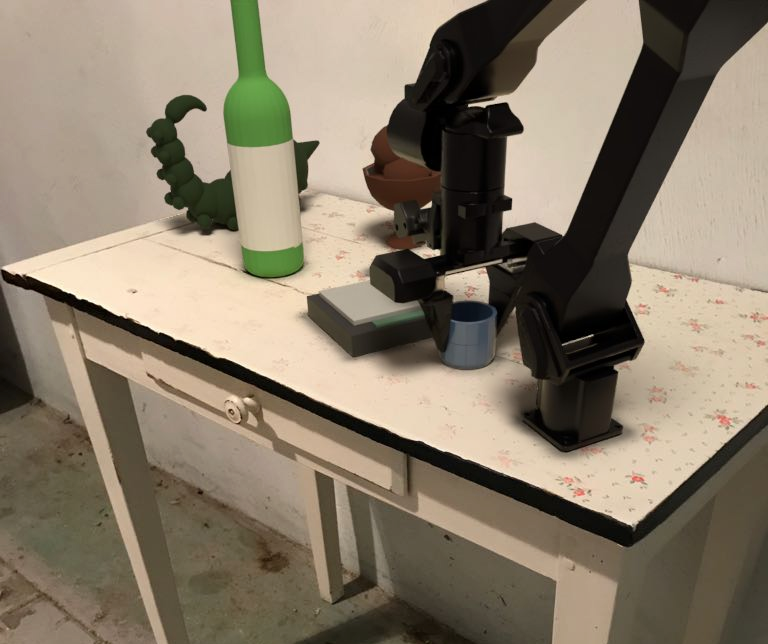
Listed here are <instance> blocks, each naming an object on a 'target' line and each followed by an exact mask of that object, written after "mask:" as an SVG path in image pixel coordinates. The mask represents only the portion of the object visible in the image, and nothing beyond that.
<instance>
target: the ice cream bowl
mask: <svg viewBox="0 0 768 644" xmlns="http://www.w3.org/2000/svg"><path fill="white" fill-rule="evenodd" d="M386 132H387V125H384V126H383V127H382V128H381V129H380V130H379V131H377V132H376V134H375V135H374V136H373V139H372V141H371V145H370V149H369V150H370V152H371V154H372V156H373V162H372V163H370V164H368V165H366V166H363V167H362V174H363V177H364V181H365V184H366V187H367V190H368V191H369V194H370V196H371V197H372V198H373V199H374V200H375V201H376V202H377V203H378V205H380V206H382V207H383V208H385V209H387V210H389V211H392V212H394V204H397V203H401V202H407V201H412V200H416V201H417V202H418V204H419V207H420V209H423V208H424V207H426V206H427V205H428V204H430V203H432V196H433V191H438V190H441V172H437V171H433V170H430V169H428V168H425V167H423V166H420V165H418V164H415V163H413V162H410V161H408V160H405V159H403V158H400V157H398V156H397V155H396V154H395V153H394V152H393V151H392V149H391V148H390V146H389V143H388V140H387V133H386ZM385 244H386V246H388V247H391V248H393V249H398V250H400V249H401V250H404V249H409V250H411V249H414V248H415V249H416V248H420V247H422V246H423V245H424V244H427V241H424V243H420V244H416V245H414V244H413V238H412V236H408V237H402V238H399V237H398V236H397V235H396V232H395V231H393V232H392V233H391V234H389V235H388V236H386V238H385Z"/></svg>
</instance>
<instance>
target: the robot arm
mask: <svg viewBox="0 0 768 644" xmlns="http://www.w3.org/2000/svg"><path fill="white" fill-rule="evenodd" d="M586 1H588V0H485V1H483V2H481V3H478V4H476V5H474V6H471V7H469V8H466V9H464V10H462V11H459V12H457V13H456V14H455V15H454V16H452V17H451V18H449V19H448V20H446V21H445V22H444V23H442V24H441V25H439V26H438V27H437V28H436V30H435V32H433V35H432V37H431V40H430V42H429V48H428V50H427V52H426V56H425V58H424V60H423V63H422V65H421V68H420V71H419V73H418V76H417V78H416V81H415V82H414V83H407V84H406V83H405V84H404V86H403V88H404V89H403V90H404V92H403V93H404V94H403V95H404V96H403V99H401V101H399V102H398V103H397V104H396V105H395V107H394V108H393V110H392V111H391V114H390V116H389V120H388V123H387V125H386V126H387V132H386V133H387V140H388V143H389V146H390V148H391V149H392V151H393V152H394V153H395V154H396V155H397V156H398V157H400V158H403V159H405V160H408V161H410V162H413V163H415V164H418V165H420V166H423V167H425V168H428V169H430V170H433V171H437V172H441V190H438V191H433V196H432V201H431V206H430V207H425V208H421V209H420V207H419V204H418V202H417V201H416V200H412V201H407V202H401V203H397V204H394V211H393V225H394V232H396V235H397V236H398V237H399V238H402V237H408V236H412V238H413V244H414V245H416V244H420V243H424V241H425V242H426V247H427V248H428V249H430V250H431V251H436V250H438V251H439V255H435V256H430V257H426V258H424V257H422V256H421V255H420V254H418V253H416V252H414V251H412V250H411V249H401V250H400V249H399V250H396V251H395V250H394V251H391V252H385V253H381V254H376V255H375V256H374V258H373V260H372V261H371V264H370V265H369V268H368V269H369V280H370V284H371V285H372V286H373V287H375V288H376V289H377V290H379V291H380V292H381V293H383V294H384V295H385V296H387V297H388V298H389V299H391V300H392V301H393V302H395V303H408V302H412V301H416V300H417V301H418V303H419V304H420V306H421V308H422V310H423V312H424V315H425V317H426V320H427V323H428V325H429V328H430V331H431V333H432V336H433V337H432V338H433V342H434V345H435V347H436V349H437V350H438V352H439V351H440V352H441V353H444V352H446V349H447V345H448V341H449V332H450V323H451V314H452V305H453V302H454V295H453V293H450V292H449V291H447V290H446V289H445V286H446V285H445V281H446V280H445V278H446V277H449V276H453V275H457V274H462V273H466V272H470V271H475V270H479V269H484V268H485V270H486V271H485V272H486V275H487V278H488V281H489V282H488V283H489V286H488V301H487V304H490V305H492V306H493V307H495V308H496V311H497V329H496V340H497V339H498V338H499V335H500V334H501V333H502V330H503V329H504V327H505V325H506V324H507V322H508V320H509V318H510V317H511V315H512V313H513V312H514V310H515V312H514V314H515V321H516V329H517V335H518V340H519V347H520V354H521V360H522V364H523V366H524V367H526V368H528V369H529V370H530V372H531V373H530V376H531V377H532V378H533V379H535V380H537V385H536V386H537V387H536V395H535V396H536V397H535V406H536V408H534V409H531V410H528V411H524V412H522V414H521V419H522V421H523V422H524V423H526V424H527V425H528V426H530V427H531V428H533V429H534V430H535V431H536V432H538V433H539V434H540V435H541V436H543V437H544V438H545V439H546V440H548V441H549V442H550V443H551V444H553V445H554V446H555V447H556V448H558V449H559V450H561V451H564V452H566V451H567V452H568V451H571V450H575V449H577V448H580V447H583V446H587V445H589V444H592V443H595V442H599V441H602V440H605V439H608V438H611V437H614V436H617V435H620V434H623V432H624V425H623V424H621V423H620V422H619V421H617V420H615V419H614V418H613V417H612V415H613V409H614V402H615V397H616V390H617V385H618V378H619V371H618V370H616V369H615V366H617V365H619V364H622V363H626V362H628V361H629V362H633V361H635V360H637V359H638V357H639V355H640V353H641V351H642V349H643V347H644V345H645V344H646V343H645V341H646V340H645V338H644V335H643V333H642V331H641V328H640V327H639V324H638V322H637V320H636V318H635V316H634V314H633V311H632V309H631V307H630V305H629V303H628V296H629V294H630V290H631V288H632V283H633V278H632V273H631V266H630V265H631V264H630V260H629V253H630V251H631V249H632V246H633V245H634V243H635V241H636V238H637V236H638V234H639V232H640V230H641V228H642V226H643V224H644V223H645V220H646V218H647V216H648V214H649V212H650V211H651V208H652V206H653V204H654V202H655V200H656V198H657V196H658V194H659V192H660V190H661V188H662V185H663V184H664V182H665V180H666V178H667V176H668V174H669V172H670V169H671V168H672V166H673V164H674V161H675V160H676V157H677V155H678V153H679V151H680V149H681V147H682V146H683V143H684V141H685V139H686V137H687V135H688V133H689V131H690V129H691V128H692V125H693V123H694V121H695V120H696V117H697V115H698V113H699V111H700V109H701V108H702V105H703V104H704V101H705V99H706V98H707V95H708V93H709V91H710V89H711V87H712V85H713V83H714V81H715V79H716V78H717V75H718V73H719V72H720V71H721V69H722V68H723V67H724V65H725V64H726V63H727V62H728V61H730V59H731V58H733V57H734V56H735V55H736V54H737V53H738V52H739V51H740V50H741V49H742V48H743V47H744V46H746V44H747V43H749V41H750V40H751V39H753V37H755V36H756V34H758V33H759V32H760V31H761V30H762V29H763V28H764V27H765V26H766V25H767V24H768V0H638V7H639V17H640V24H641V25H640V26H641V35H642V46H641V49H640V52H639V54H638V56H637V59H636V62H635V63H634V65H633V69H632V71H631V74H630V76H629V79H628V80H627V84H626V86H625V89H624V91H623V93H622V96H621V98H620V100H619V103H618V105H617V108H616V110H615V113H614V115H613V117H612V120H611V122H610V125H609V127H608V130H607V132H606V134H605V137H604V140H603V142H602V145H601V147H600V149H599V152H598V154H597V157H596V160H595V162H594V164H593V166H592V169H591V171H590V174H589V176H588V178H587V181H586V184H585V186H584V188H583V191H582V193H581V196H580V197H579V200H578V203H577V205H576V208H575V210H574V213H573V215H572V218H571V220H570V223H569V224H568V228H567V230H566V231H565V233H564V234H561V233H559V232H557V231H555V230H553V229H551V228H549V227H546V226H545V225H542V224H540V223H539V222H535V221H534V222H530V223H525V224H520V225H519V224H518V225H516V226H515V225H514V226H510V227H506V228H505V230H503V225H504V224H503V223H504V213H505V212H509V211H512V210H513V198H512V197H510V196H508V195H506V194H505V189H506V187H505V185H506V167H507V151H508V149H507V148H508V137H513V136H518V135H522V134H523V133H524V131H525V128H524V127H525V126H524V124H523V123H522V121H521V120H520V118H519V117H518V116H517V115H516V114H515V113H514V112H513V111H512V109H511V107H510V104H509V102H507V101H505V102H497V103H492V104H487V105H485V106H480V105H474V104H480V103H487V102H492V101H495V100H496V99H497V98H498V97H503V96H510V95H511V94H513V93H515V92H516V91H517V89H518V88H519V87H520V86H521V84H522V83H523V82H524V80H525V79H526V78H527V77H528V75H529V74H530V72H531V71H532V70H533V69H534V67H535V66H536V64H537V62H538V53H539V48H540V47H541V45H542V44H543V42H544V40H545V39H546V38H547V37H549V35H551V34H552V33H553V32H554V31H555V30H556V29H557V28H558V27H559V26H561V25H562V24H563V23H564V22H565V21H566V20H567V19H568V18H569V17H570V16H572V14H573V13H575V12H577V10H578V9H579V8H580V7H582V5H584V4H585V3H586ZM469 105H471V106H469ZM424 244H425V243H424Z"/></svg>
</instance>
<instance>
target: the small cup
mask: <svg viewBox="0 0 768 644" xmlns="http://www.w3.org/2000/svg"><path fill="white" fill-rule="evenodd" d="M496 329H497V311H496V308H495V307H493V306H492V305H490V304H488V302H484V301H480V300H456V301H453V305H452V314H451V323H450V332H449V341H448V345H447V349H446V352H444V353H441V352H440V351H439V350H438V354H439V355H438V356H439V358H440V359H441V361H442V362H443V363H444V365H446V366H448V367H450V368H453V369H457V370H469V371H470V370H477V369H482V368H484V367H486V366H488V365H489V364H491V362H492V360H493V359H494V357H495V355H496V345H497V339H496Z"/></svg>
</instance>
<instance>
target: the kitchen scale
mask: <svg viewBox="0 0 768 644" xmlns="http://www.w3.org/2000/svg"><path fill="white" fill-rule="evenodd" d="M306 305H307V315H308V317H309V318H310V319H311V320H312V321H313V322H314V323H315V324H317V325H318V326H319V327H320V328H321V329H322V330H323V331H324V332H325V333H326V334H327V335H328V336H330V338H332V339H333V340H334V341H335V342H336V343H337V344H338V345H339V346H340V347H342V349H344V350H345V351H346V353H348V354H349V356H351V357H352V358H355V357H359V356H363V355H367V354H370V353H374V352H378V351H383V350H387V349H390V348H395V347H398V346H402V345H406V344H410V343H414V342H418V341H422V340H427V339H430V338H433V336H432V333H431V331H430V328H429V325H428V323H427V320H426V317H425V315H424V312H423V310H422V308H421V306H420V304H419V303H418V301H417V300H416V301H412V302H408V303H395V302H393V301H392V300H391V299H389V298H388V297H387V296H385V295H384V294H383V293H381V292H380V291H379V290H377V289H376V288H375V287H373V286H372V285H371V284H370V279H367V280H364V281H363V280H362V281H359V282H354V283H350V284H345V285H341V286H336V287H332V288H326V289H323V290H319V291H318V293H314V294H311V295H306Z"/></svg>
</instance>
